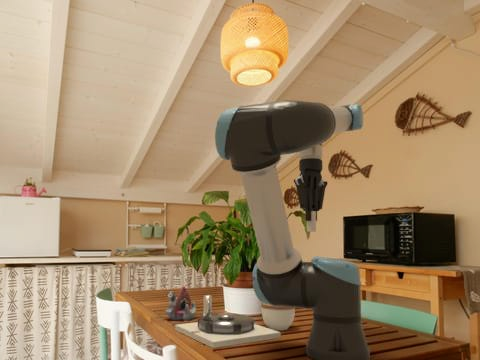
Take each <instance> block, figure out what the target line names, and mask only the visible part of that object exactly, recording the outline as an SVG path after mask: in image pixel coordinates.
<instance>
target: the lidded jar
mask: <svg viewBox="0 0 480 360" xmlns="http://www.w3.org/2000/svg"><path fill="white" fill-rule="evenodd" d="M260 305H261V306H260V307H261V317H262V320H263V323H264V324H265V325H266V327H267V328H269V329H272V330H275V331H278V332H280V331H288V329H289V328H290V327H291V325H292V324H293V323H294V319H295V314H296V313H295V312H296V309H295V308H296V307H286V306H273V305H268V304H264V303H262V302H260Z"/></svg>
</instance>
